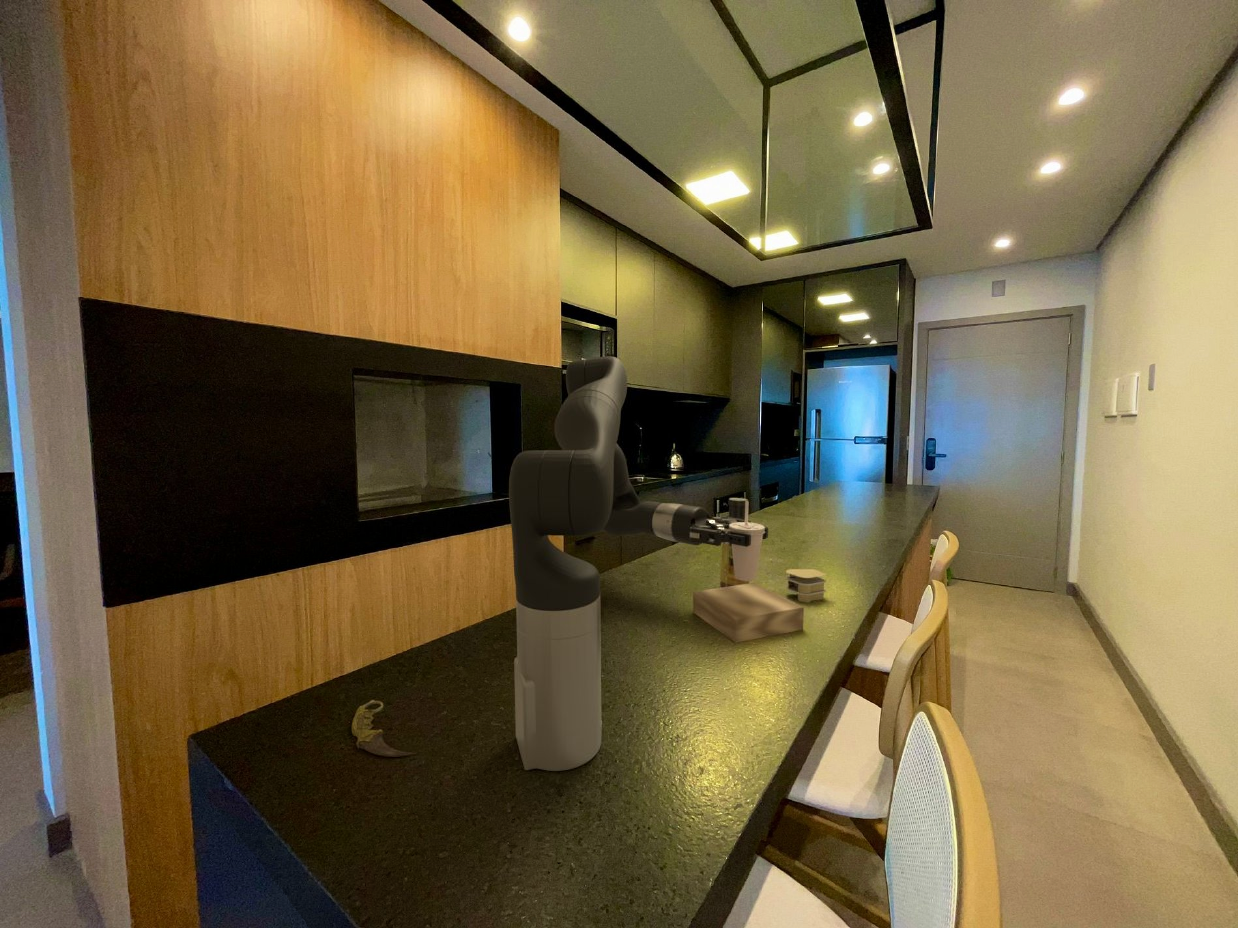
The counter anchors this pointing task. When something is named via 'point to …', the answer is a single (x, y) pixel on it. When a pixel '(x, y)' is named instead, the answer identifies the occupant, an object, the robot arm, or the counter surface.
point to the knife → (372, 733)
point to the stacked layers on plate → (806, 584)
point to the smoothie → (747, 549)
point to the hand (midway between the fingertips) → (758, 536)
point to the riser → (747, 611)
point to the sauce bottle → (726, 550)
